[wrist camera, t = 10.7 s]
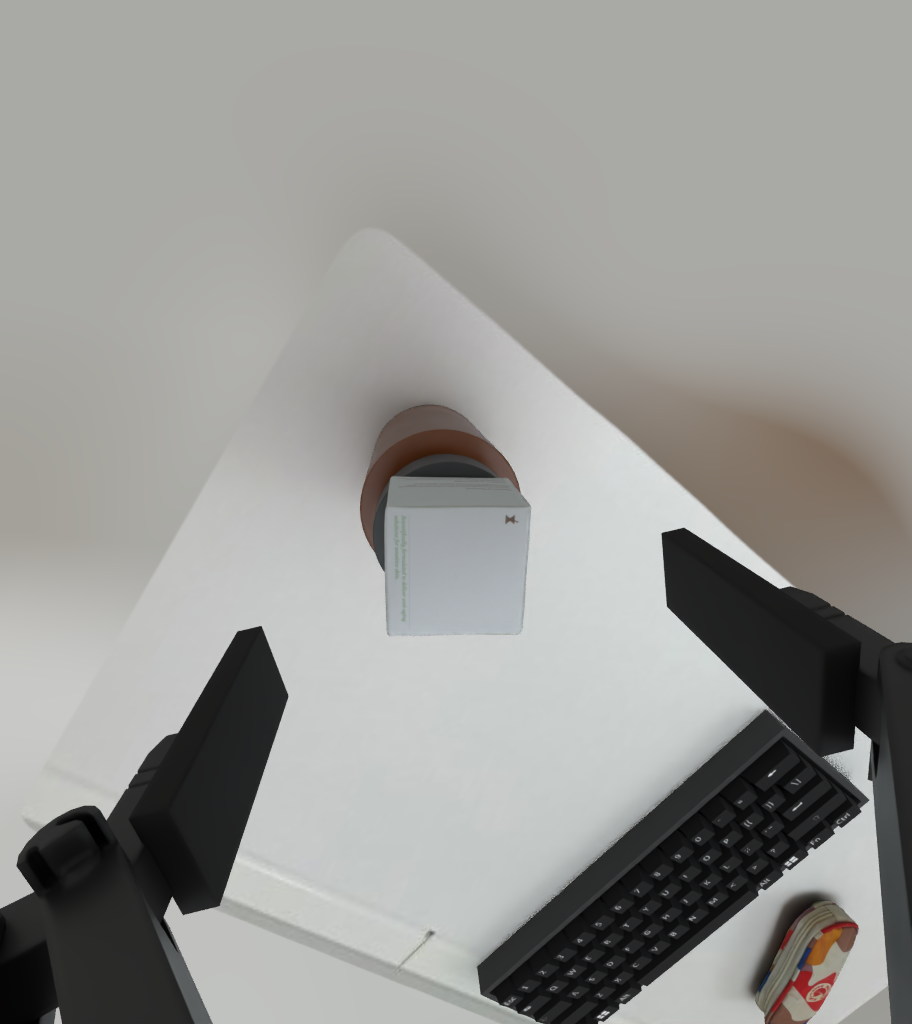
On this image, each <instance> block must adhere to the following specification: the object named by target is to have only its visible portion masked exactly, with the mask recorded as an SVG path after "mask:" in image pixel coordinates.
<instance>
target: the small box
mask: <svg viewBox="0 0 912 1024" xmlns="http://www.w3.org/2000/svg"><path fill="white" fill-rule="evenodd" d="M530 515H531V506H530V505H529V503H528V502H527V501H526V499H525V498H524V497H523V496H522V495H521V493H520V492H519V491H518V490H517V488H516V487H515V486H514V485H513V484H512V482H511V481H510V480H509V479H508V478H462V477H460V478H459V477H397V476H392V477H391V478H390V484H389V491H388V499H387V506H386V509H385V523H384V545H385V593H386V621H387V634H388V635H389V636H430V635H463V634H486V635H517V634H520V633H521V631H522V627H523V616H524V603H525V586H526V571H527V559H528V546H529V532H530Z"/></svg>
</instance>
